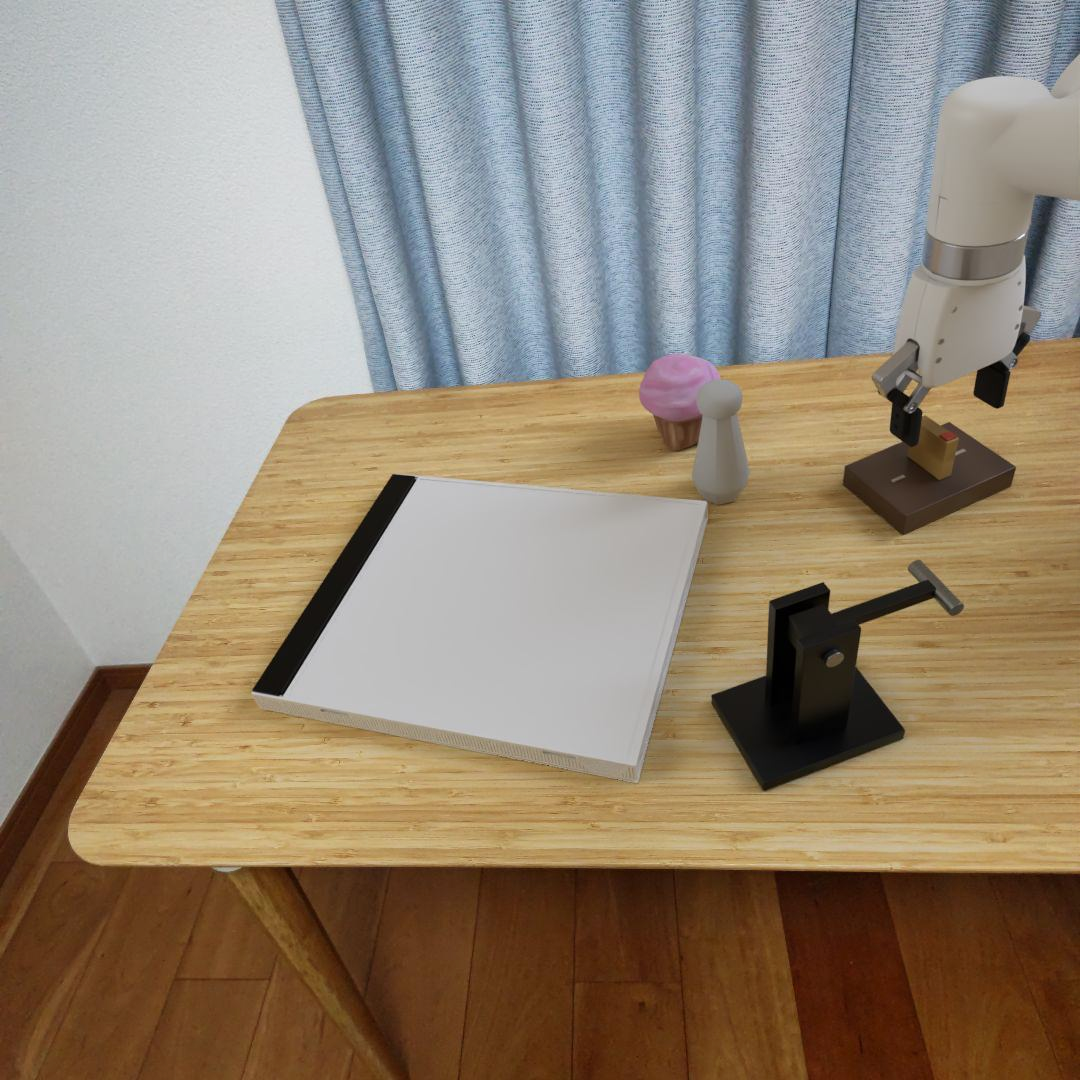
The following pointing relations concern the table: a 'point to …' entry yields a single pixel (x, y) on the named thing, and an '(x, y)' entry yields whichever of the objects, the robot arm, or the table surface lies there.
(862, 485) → the plate
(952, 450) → the thumb turn
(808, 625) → the door handle
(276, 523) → the table surface
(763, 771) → the handle bracket
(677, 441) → the cupcake
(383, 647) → the cd case
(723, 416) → the salt shaker
